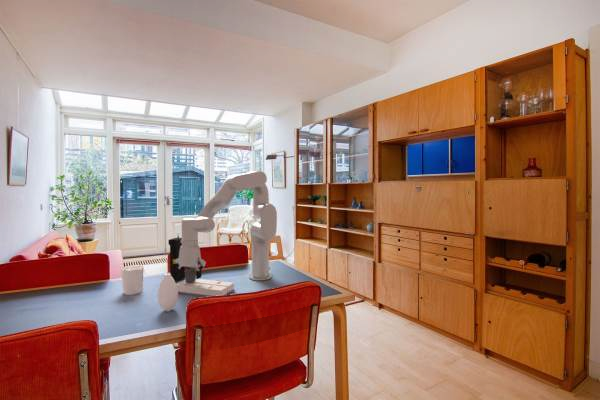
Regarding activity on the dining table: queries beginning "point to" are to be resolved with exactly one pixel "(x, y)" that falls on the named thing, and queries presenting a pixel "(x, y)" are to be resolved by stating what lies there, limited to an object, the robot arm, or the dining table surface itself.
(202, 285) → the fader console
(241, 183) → the robot arm
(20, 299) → the dining table surface
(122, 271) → the candle holder
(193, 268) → the fader tab
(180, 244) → the portable radio
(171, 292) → the sauce bottle
